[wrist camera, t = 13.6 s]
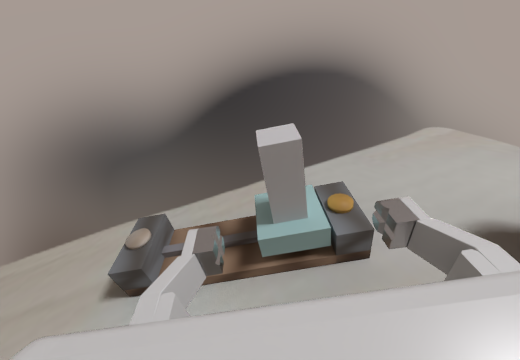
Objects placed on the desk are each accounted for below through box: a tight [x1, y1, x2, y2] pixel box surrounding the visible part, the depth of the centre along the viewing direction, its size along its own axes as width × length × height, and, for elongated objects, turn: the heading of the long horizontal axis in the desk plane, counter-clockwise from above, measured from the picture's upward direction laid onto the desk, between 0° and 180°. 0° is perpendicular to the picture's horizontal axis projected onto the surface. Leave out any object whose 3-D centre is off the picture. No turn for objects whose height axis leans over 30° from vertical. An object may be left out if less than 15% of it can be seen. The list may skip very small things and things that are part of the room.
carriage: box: [255, 123, 331, 257], centre depth 25 cm, size 8×8×13 cm
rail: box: [108, 181, 374, 297], centre depth 29 cm, size 30×9×6 cm, turn 94°
